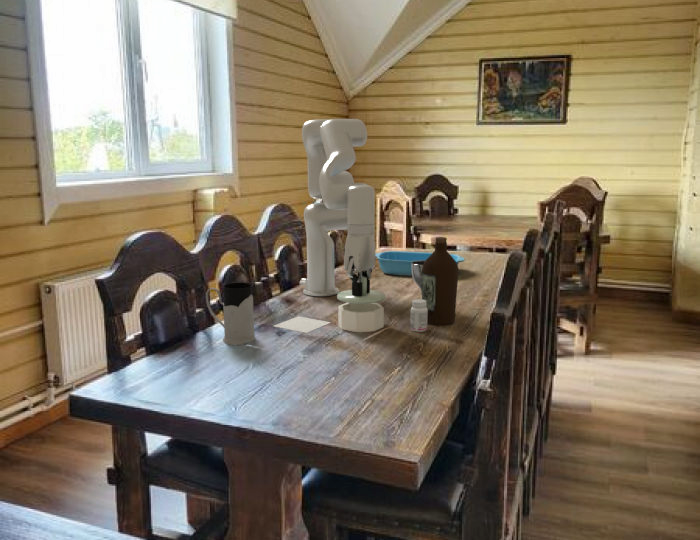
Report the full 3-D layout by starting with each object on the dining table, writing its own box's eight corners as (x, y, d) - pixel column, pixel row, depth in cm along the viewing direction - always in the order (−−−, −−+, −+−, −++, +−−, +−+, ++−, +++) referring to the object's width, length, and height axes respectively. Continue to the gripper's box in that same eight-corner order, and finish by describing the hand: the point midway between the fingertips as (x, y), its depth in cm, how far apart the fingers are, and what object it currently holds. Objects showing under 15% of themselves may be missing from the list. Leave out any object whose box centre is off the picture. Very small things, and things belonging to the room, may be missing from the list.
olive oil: (443, 314, 190) (446, 234, 185) (464, 323, 180) (467, 239, 175) (414, 318, 186) (415, 236, 181) (433, 327, 176) (435, 241, 171)
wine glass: (434, 312, 192) (436, 265, 189) (409, 311, 194) (410, 264, 191) (436, 306, 200) (437, 260, 197) (411, 304, 201) (412, 259, 198)
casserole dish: (465, 269, 260) (465, 252, 258) (462, 280, 238) (463, 262, 237) (379, 265, 267) (379, 249, 266) (369, 276, 246) (369, 258, 245)
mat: (272, 327, 176) (272, 326, 176) (298, 317, 186) (298, 316, 186) (306, 334, 170) (306, 332, 170) (331, 324, 180) (331, 322, 180)
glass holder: (245, 346, 160) (243, 290, 157) (199, 340, 165) (196, 286, 162) (261, 336, 168) (260, 283, 165) (217, 331, 173) (214, 279, 170)
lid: (327, 299, 173) (327, 279, 172) (353, 289, 184) (353, 270, 183) (369, 305, 166) (369, 284, 165) (393, 295, 177) (393, 276, 176)
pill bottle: (428, 328, 176) (429, 299, 174) (425, 332, 172) (425, 303, 170) (412, 326, 178) (413, 298, 176) (408, 331, 173) (409, 302, 171)
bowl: (331, 329, 175) (331, 308, 174) (354, 319, 185) (354, 299, 184) (367, 336, 168) (368, 315, 167) (389, 325, 179) (390, 305, 177)
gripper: (364, 225, 180) (364, 287, 184) (333, 232, 166) (333, 298, 170) (387, 227, 176) (386, 290, 180) (356, 234, 162) (356, 302, 166)
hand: (360, 293), depth 175 cm, fingers closed on lid, 3 cm apart
